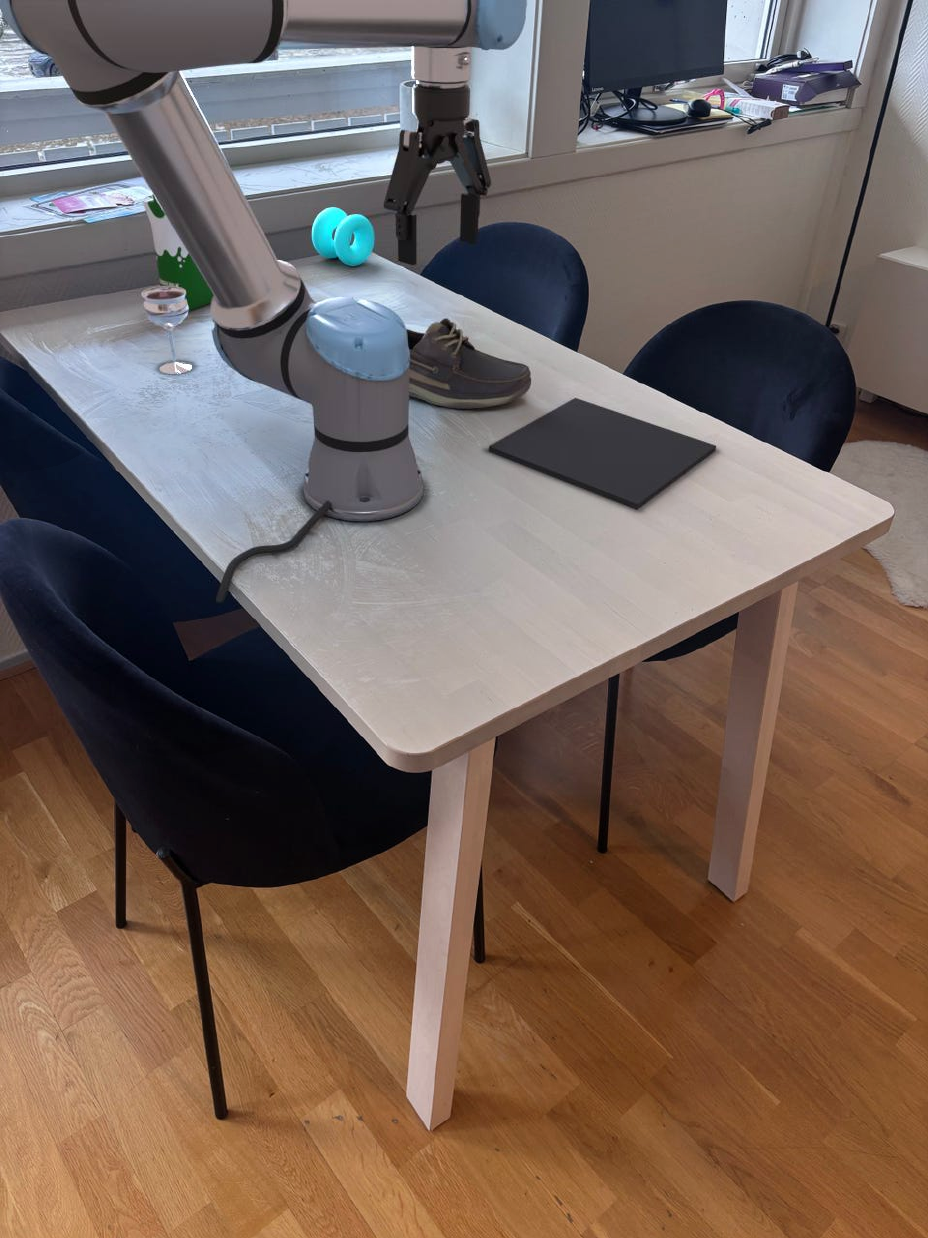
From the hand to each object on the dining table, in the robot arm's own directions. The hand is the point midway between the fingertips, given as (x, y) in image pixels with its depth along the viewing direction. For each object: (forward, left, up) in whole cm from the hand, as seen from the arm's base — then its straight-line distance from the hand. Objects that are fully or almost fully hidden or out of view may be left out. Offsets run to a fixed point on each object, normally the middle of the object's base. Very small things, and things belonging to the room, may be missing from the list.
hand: (438, 252), depth 136 cm
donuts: (+38, +57, -22) cm, 72 cm away
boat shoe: (0, 0, -22) cm, 22 cm away
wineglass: (-21, +37, -22) cm, 48 cm away
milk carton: (0, +60, -22) cm, 64 cm away
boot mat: (+1, -30, -21) cm, 37 cm away
